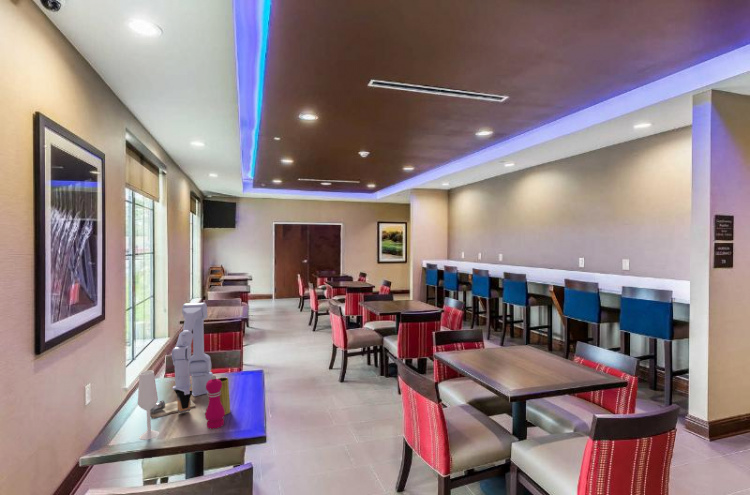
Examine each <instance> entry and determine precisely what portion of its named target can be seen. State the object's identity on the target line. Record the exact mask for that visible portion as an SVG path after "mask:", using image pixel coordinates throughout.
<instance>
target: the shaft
mask: <svg viewBox="0 0 750 495" xmlns="http://www.w3.org/2000/svg"><path fill="white" fill-rule="evenodd" d="M165 404H166V403H165V401H164V400H159V402H157V403H156V405H155V406H154V407H153V408H152V409H151V410H150V413H152V414H157V413H160V412H163V409H165Z"/></svg>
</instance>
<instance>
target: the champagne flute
mask: <svg viewBox="0 0 750 495" xmlns="http://www.w3.org/2000/svg"><path fill="white" fill-rule="evenodd" d="M138 378H139V380H138V394H137V405H138V406H139V407H140V409H142V410H144V411H146V427H147V430H146V431H145V432H143V433H142V434H141V435H140V436H139V439H140V440H144V441H147V440H151V439H154V438H156V437H158V436H159V435H160V432H159V431H157V430H153V429H152V424H151V422H152V421H151V420H152V418H151V415H150V410H151V409H152V408H153V407H154V406H155V405H156V403H158V401H159V397H158V391H157V384H156V377H155V370H143V371H141V372H140V373H139V376H138Z"/></svg>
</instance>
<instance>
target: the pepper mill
mask: <svg viewBox="0 0 750 495" xmlns="http://www.w3.org/2000/svg"><path fill="white" fill-rule="evenodd" d="M221 388H222V382H221V380H219V379H218V378H217V376H216V375H215V374H213V376H212V377H211V380H209V381H208V382H207V383H206V390H207V391H208V393H207V397H208V404H207V407H206V410H205V413H204V414H205V415H204V416H205V420H207V422H206V427H207V429H210V428H211V429H212V430H214V429H213V428H215V429H219V428H221V427H223V426H224V425H225V419H224V417H225V416H226V415H225V410H224V408H223V406H222V404H221V401H220V395H221V390H220V389H221Z"/></svg>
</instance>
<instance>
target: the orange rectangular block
mask: <svg viewBox="0 0 750 495" xmlns="http://www.w3.org/2000/svg"><path fill="white" fill-rule="evenodd" d="M190 400H191V399H190ZM190 400H189V405H188V408H185V409H182V406H181V401H180V398H179V396H177V395H176V401H177V405H178V408H177V409H178V412H177V413H179V414H183V413H187V412H191V409H190Z"/></svg>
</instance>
